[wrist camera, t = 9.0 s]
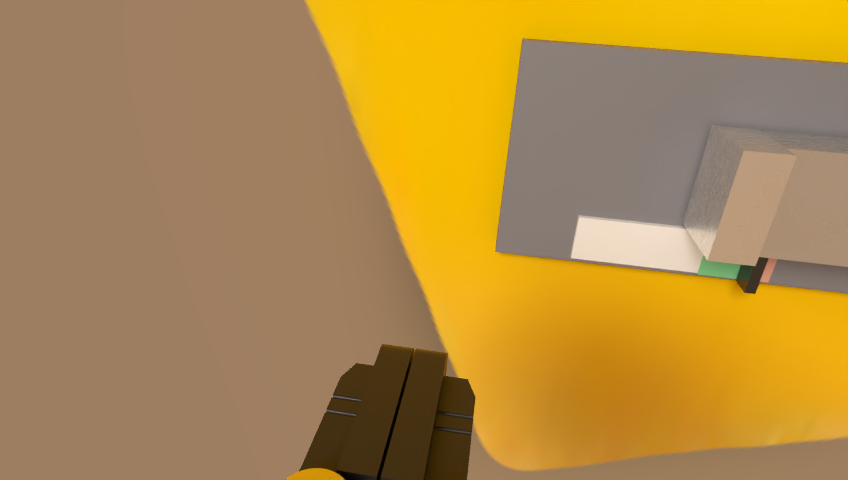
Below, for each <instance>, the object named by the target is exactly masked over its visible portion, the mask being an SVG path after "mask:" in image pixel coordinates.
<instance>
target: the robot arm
mask: <svg viewBox="0 0 848 480" xmlns="http://www.w3.org/2000/svg"><path fill="white" fill-rule="evenodd" d="M447 357H448V353H444V352H436V351H429V350H422V349H416V350H415V352H414V349H413V348H406V347H400V346H392V345H385V344H383V345H382V346H381V348H380V351H379V354H378V356H377V359H376V362H375V364H374V366H371V365H365V364H358V363H356V364H355V365H354V366H353V367H352V368H350V370H348V372H346V373H345V374H344V375H343V376H342V377H341V378H340V380H339V382H338V385H337V387H336V389H335V391H334V394H333V398H331V401H330V403H329V405H328V407H327V411H326V413H325V414H324V416H323V419H322V421H321V423H320V426H319V428H318V430H317V432H316V435H315V437H314V439H313V442H312V444H311V446H310V448H309V451H308V453H307V455H306V458H305V460H304V462H303V465H302V467H301V469H300V470H299V472H297V473H294V474H293V475H291V476H290V477H288V478H287V479H286V480H467V473H468V463H469V454H470V444H471V434H472V424H473V415H474V405H475V395H474V393H473V391H472V388H471V386H470V384H469V381H468V379H462V378H455V377H448V376H446V369H447Z"/></svg>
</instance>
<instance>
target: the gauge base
mask: <svg viewBox="0 0 848 480" xmlns="http://www.w3.org/2000/svg"><path fill="white" fill-rule="evenodd" d="M712 125H715V126H726V127H737V128H749V129H760V130H771V131H782V132H794V133H805V134H816V135H827V136H838V137H848V63H841V62H828V61H815V60H801V59H788V58H775V57H762V56H748V55H735V54H722V53H708V52H695V51H682V50H669V49H655V48H642V47H629V46H615V45H602V44H589V43H576V42H562V41H549V40H536V39H523V40H522V47H521V55H520V63H519V70H518V78H517V86H516V94H515V101H514V109H513V117H512V125H511V132H510V140H509V148H508V156H507V163H506V171H505V179H504V187H503V194H502V202H501V210H500V218H499V225H498V233H497V241H496V252H501V253H510V254H518V255H527V256H535V257H544V258H552V259H561V260H569V261H578V262H586V263H595V264H603V265H612V266H620V267H629V268H637V269H646V270H654V271H663V272H671V273H680V274H688V275H697V276H705V277H714V278H722V279H731V280H736V278H737V275H738V273H739V270H740V267H741V265H740V264H731V263H722V262H714V261H707V259H706V258H705V256H704V255H703V253H702V252H701V250H700V249H699V247H698V246H697V244H696V243H695V241H694V240H693V238H692V237H691V235H690V234H689V232H688V231H687V229H686V228H685V226H684V225H683V220H684V217H685V213H686V210H687V207H688V203H689V200H690V197H691V193H692V190H693V186H694V183H695V180H696V176H697V173H698V170H699V166H700V163H701V159H702V156H703V153H704V149H705V146H706V143H707V139H708V136H709V132H710V129H711V126H712ZM759 283H765V284H773V285H782V286H790V287H799V288H807V289H816V290H824V291H833V292H841V293H848V267H843V266H835V265H826V264H817V263H808V262H799V261H790V260H781V259H773V258H769V259H768V262H767V264H766V267H765V269H764V272H763V275H762V277H761V280H760V282H759Z"/></svg>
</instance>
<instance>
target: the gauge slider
mask: <svg viewBox="0 0 848 480" xmlns="http://www.w3.org/2000/svg"><path fill="white" fill-rule="evenodd" d="M683 225H684V226H685V228H686V229H687V231H688V232H689V234H690V235H691V237H692V238H693V240H694V241H695V243H696V244H697V246H698V247H699V249H700V250H701V252H702V253H703V255H704V256H705V258H706V259H707V261H714V262H722V263H731V264H740V265H741V267H740V270H739V273H738V275H737V278H736V281H737V283H738V284H739V286H740V287H741V288H742V290H743V291H744V292H745V293H753V294H755V293H756V290H757V287H758V285H759V282H760V280H761V277H762V275H763V272H764V269H765V267H766V264H767V262H768V259H769V258H773V259H781V260H790V261H799V262H808V263H817V264H826V265H835V266H843V267H848V137H838V136H827V135H816V134H805V133H794V132H782V131H771V130H760V129H749V128H737V127H726V126H715V125H712V126H711V129H710V132H709V136H708V139H707V143H706V146H705V149H704V153H703V156H702V159H701V163H700V166H699V170H698V173H697V176H696V180H695V183H694V186H693V190H692V193H691V197H690V200H689V203H688V207H687V210H686V213H685V217H684V220H683Z"/></svg>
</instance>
